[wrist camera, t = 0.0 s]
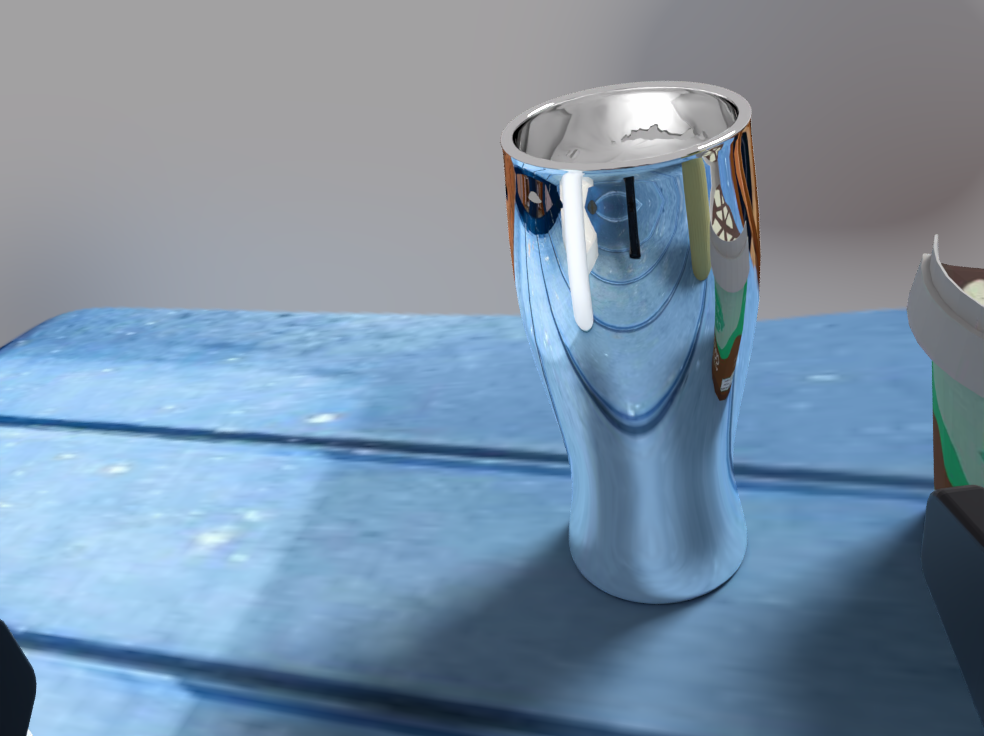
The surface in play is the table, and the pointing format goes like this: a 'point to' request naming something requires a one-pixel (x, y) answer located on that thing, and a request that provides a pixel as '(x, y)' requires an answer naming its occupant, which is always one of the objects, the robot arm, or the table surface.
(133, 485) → the table surface
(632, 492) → the beer glass
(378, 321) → the table surface
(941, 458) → the food container
